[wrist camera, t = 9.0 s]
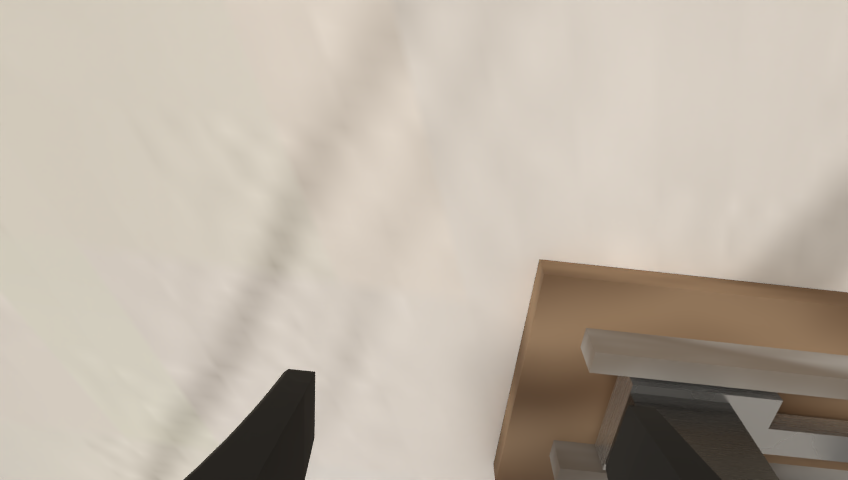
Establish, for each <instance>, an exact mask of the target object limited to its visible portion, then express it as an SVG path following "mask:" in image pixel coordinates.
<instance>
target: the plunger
mask: <svg viewBox="0 0 848 480" xmlns="http://www.w3.org/2000/svg"><path fill="white" fill-rule="evenodd" d="M782 402H783V400H782V399H781V397H780V396H779V395H778V394H777V392H768V391H759V390H749V389H740V388H730V387H721V386H711V385H702V384H692V383H683V382H674V381H664V380H655V379H645V378H636V377H626V376H618V377H617V380H616V383H615V386H614V389H613V392H612V395H611V398H610V401H609V404H608V407H607V410H606V413H605V416H604V419H603V422H602V425H601V428H600V431H599V434H598V437H597V440H596V443H595V446H596V450H597V453H598V456H599V459H600V463H601V466H602V469H603V470H606V466H607V463H608V460H609V457H610V454H611V452H612V449H613V446H614V443H615V440H616V438H617V435H618V432H619V429H620V426H621V424H622V421H623V418H624V415H625V413H626V410H627V407H628V405H634V406H643V407H653V408H655V409H656V410H657V411H658V412H659V413H660V414H661V415H662V416H663V417H664V418H665V419H666V420H667V421H668V422H669V423H670V424H671V425H672V426H673V428H674V429H675V430H676V431H677V432H678V433H679V434H680V435H681V436H682V437H683V439H684V440H685V441H686V442H687V443H688V444H689V445H690V446H691V447H692V448H693V449H694V451H695V452H696V453H697V454H698V455H699V456H700V457H701V458H702V459H703V460H704V461H705V462H706V463H707V465H708V466H709V467H710V468H711V469H712V470H713V471H714V472H715V473H716V474H717V475H718V476H719V477H720V478H721V479H722V480H779V478H778V477H777V475H776V474H775V472H774V470H773V469H772V467H771V466H770V464H769V463H768V461H767V460H766V458H765V457H764V455H763V454H770V455H780V456H789V457H799V458H808V459H818V460H827V461H837V462H847V463H848V421H844V420H835V419H825V418H816V417H806V416H797V415H787V414H778V413H777V411H778V410H779V408H780V406H781V404H782Z"/></svg>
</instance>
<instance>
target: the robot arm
mask: <svg viewBox="0 0 848 480" xmlns="http://www.w3.org/2000/svg"><path fill="white" fill-rule="evenodd" d="M314 426H315V372H311V371H302V370H292V369H288V370H287V371H285V372H284V373H283V374H282V375H281V377H280V378H279V379H278V381H277V382H276V383H275V384H274V386H273V387H272V388H271V389H270V391H269V392H268V393H267V394H266V395H265V397H264V398H263V399H262V400H261V401H260V402H259V404H258V405H257V406H256V407H255V408H254V409H253V411H252V412H251V413H250V414H249V415H248V416H247V417H246V418H245V419H244V420H243V421H242V423H241V424H240V425H239V426H238V427H237V428H236V429H235V430H234V431H233V432H232V433H231V434H230V435H229V436H228V438H227V439H226V440H225V441H224V442H223V443H222V444H221V445H220V446H219V447H217V448H216V449H215V450H214V451H213V452H212V453H211V454H210V455H209V456H208V457H207V458H206V459H205V460H204V461H203V462H202V463H201V464H200V465H199V466H198V467H197V468H196V469H195V470H194V471H193V472H191V473H190V474H189V475H188V476H187V477H186V478H185V479H184V480H305V476H306V472H307V467H308V463H309V459H310V454H311V450H312V446H313V441H314ZM606 472H607V478H608V480H722V479H721V478H720V477H719V476H718V475H717V474H716V473H715V472H714V471H713V470H712V469H711V468H710V467H709V466H708V465H707V463H706V462H705V461H704V460H703V459H702V458H701V457H700V456H699V455H698V454H697V453H696V452H695V451H694V449H693V448H692V447H691V446H690V445H689V444H688V443H687V442H686V441H685V440H684V439H683V437H682V436H681V435H680V434H679V433H678V432H677V431H676V430H675V429H674V428H673V426H672V425H671V424H670V423H669V422H668V421H667V420H666V419H665V418H664V417H663V416H662V415H661V414H660V413H659V412H658V411H657V410H656V409H655V408H653V407H643V406H634V405H628V407H627V410H626V413H625V415H624V418H623V421H622V424H621V426H620V429H619V432H618V435H617V438H616V440H615V443H614V446H613V449H612V452H611V454H610V457H609V460H608V463H607V466H606Z"/></svg>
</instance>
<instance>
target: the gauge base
mask: <svg viewBox="0 0 848 480" xmlns="http://www.w3.org/2000/svg"><path fill="white" fill-rule="evenodd" d="M618 376H626V377H636V378H645V379H655V380H664V381H674V382H683V383H692V384H702V385H711V386H721V387H730V388H740V389H749V390H759V391H768V392H777V394H778V395H779V396H780V397H781V399H782V400H783V402H782V404H781V406H780V408H779V410H778V411H777V413H778V414H787V415H797V416H806V417H816V418H825V419H835V420H844V421H848V293H846V292H837V291H828V290H818V289H809V288H800V287H790V286H781V285H772V284H763V283H753V282H744V281H735V280H725V279H716V278H707V277H698V276H688V275H679V274H670V273H660V272H651V271H642V270H633V269H623V268H614V267H605V266H595V265H586V264H577V263H568V262H558V261H549V260H540V259H539V264H538V268H537V273H536V277H535V282H534V286H533V291H532V295H531V300H530V304H529V309H528V313H527V317H526V322H525V326H524V331H523V335H522V340H521V344H520V349H519V353H518V358H517V362H516V366H515V371H514V375H513V380H512V384H511V389H510V393H509V398H508V402H507V407H506V411H505V415H504V420H503V424H502V429H501V433H500V438H499V442H498V447H497V451H496V456H495V460H494V473H495V480H608V478H607V472H606V470H603V469H602V466H601V463H600V459H599V456H598V453H597V450H596V446H595V443H596V440H597V437H598V434H599V431H600V428H601V425H602V422H603V419H604V416H605V413H606V410H607V407H608V404H609V401H610V398H611V395H612V392H613V389H614V386H615V383H616V380H617V377H618ZM763 455H764V457H765V458H766V460H767V461H768V463H769V464H770V466H771V467H772V469H773V470H774V472H775V474H776V475H777V477H778V478H779V480H848V463H847V462H837V461H827V460H818V459H808V458H799V457H789V456H780V455H770V454H763Z"/></svg>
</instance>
